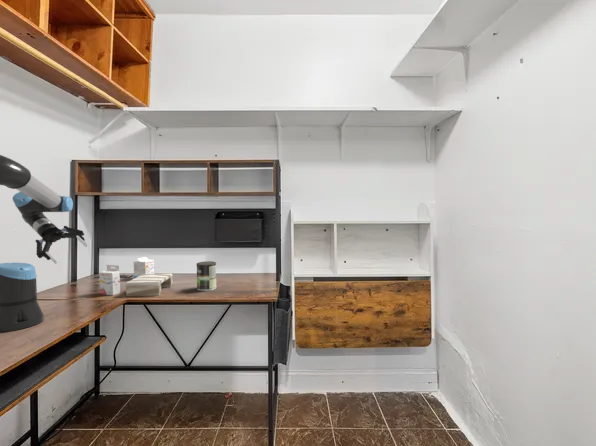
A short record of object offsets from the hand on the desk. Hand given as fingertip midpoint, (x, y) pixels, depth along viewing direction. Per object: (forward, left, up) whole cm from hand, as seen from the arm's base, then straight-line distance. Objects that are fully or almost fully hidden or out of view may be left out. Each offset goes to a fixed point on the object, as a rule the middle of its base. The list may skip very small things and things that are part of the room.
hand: (70, 252), depth 145 cm
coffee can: (+22, -57, -24) cm, 65 cm away
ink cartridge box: (+16, -8, -24) cm, 30 cm away
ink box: (+50, -11, -24) cm, 56 cm away
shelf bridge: (+20, -27, -24) cm, 41 cm away
